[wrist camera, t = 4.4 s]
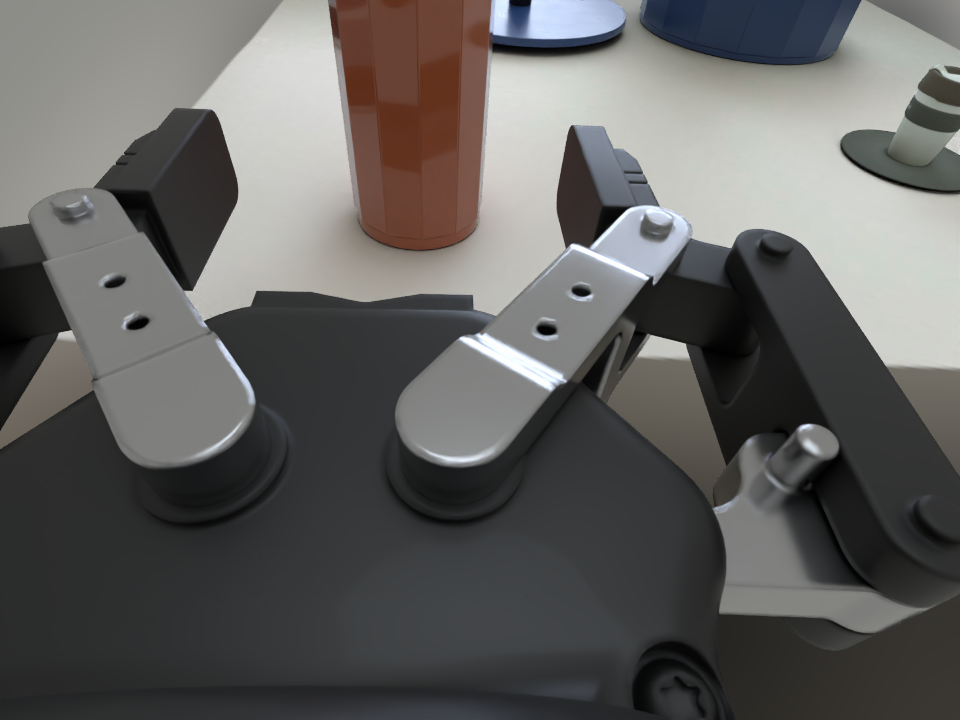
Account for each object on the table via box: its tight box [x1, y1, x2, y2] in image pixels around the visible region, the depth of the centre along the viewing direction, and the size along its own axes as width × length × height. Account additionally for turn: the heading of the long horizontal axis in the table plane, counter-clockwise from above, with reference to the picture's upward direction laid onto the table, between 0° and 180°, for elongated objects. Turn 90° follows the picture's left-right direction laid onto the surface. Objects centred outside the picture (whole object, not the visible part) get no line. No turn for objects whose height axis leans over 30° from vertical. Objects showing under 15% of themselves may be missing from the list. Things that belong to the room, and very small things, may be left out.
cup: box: [328, 0, 496, 250], centre depth 22 cm, size 6×6×10 cm
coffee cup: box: [841, 64, 960, 191], centre depth 31 cm, size 12×12×5 cm
